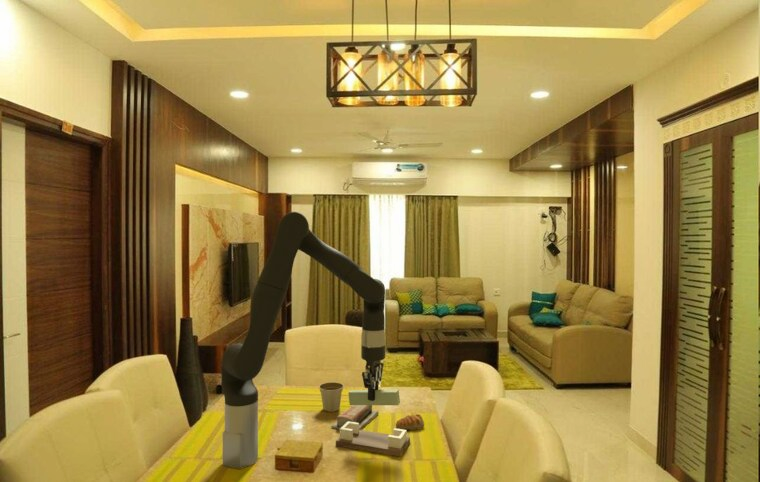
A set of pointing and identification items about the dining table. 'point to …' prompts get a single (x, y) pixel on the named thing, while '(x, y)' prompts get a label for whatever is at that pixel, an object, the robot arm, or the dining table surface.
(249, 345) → the robot arm
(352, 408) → the packaged product
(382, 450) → the board
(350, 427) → the cap far
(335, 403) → the flower pot
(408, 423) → the pastry
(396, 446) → the cap near
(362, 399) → the slat
